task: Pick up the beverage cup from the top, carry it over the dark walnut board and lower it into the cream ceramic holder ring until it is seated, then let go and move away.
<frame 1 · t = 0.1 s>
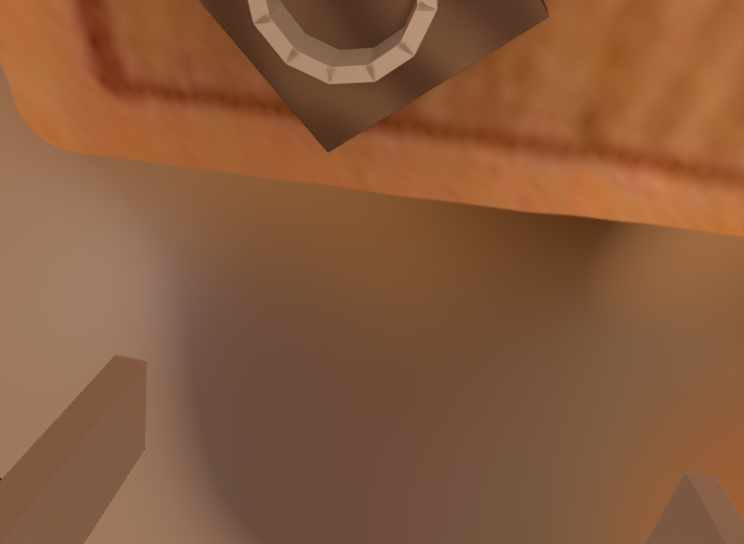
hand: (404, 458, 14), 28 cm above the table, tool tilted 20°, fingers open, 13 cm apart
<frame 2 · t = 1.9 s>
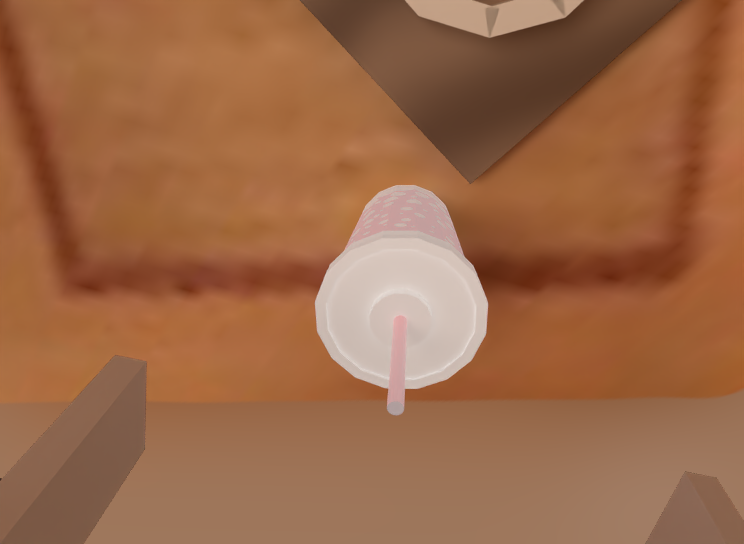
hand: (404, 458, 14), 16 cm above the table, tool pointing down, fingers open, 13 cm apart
beverage cup: (405, 228, 28), on the table
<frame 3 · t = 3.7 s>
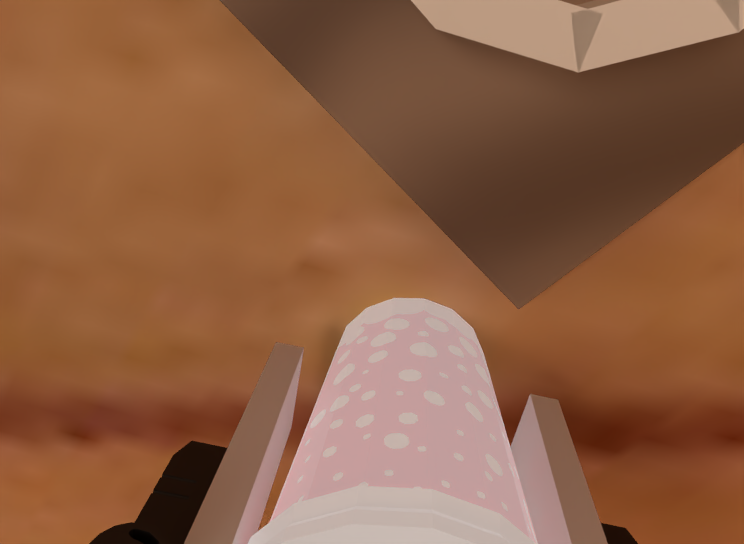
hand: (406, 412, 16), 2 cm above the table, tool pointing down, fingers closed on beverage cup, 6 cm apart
beverage cup: (409, 359, 18), on the table, touching gripper
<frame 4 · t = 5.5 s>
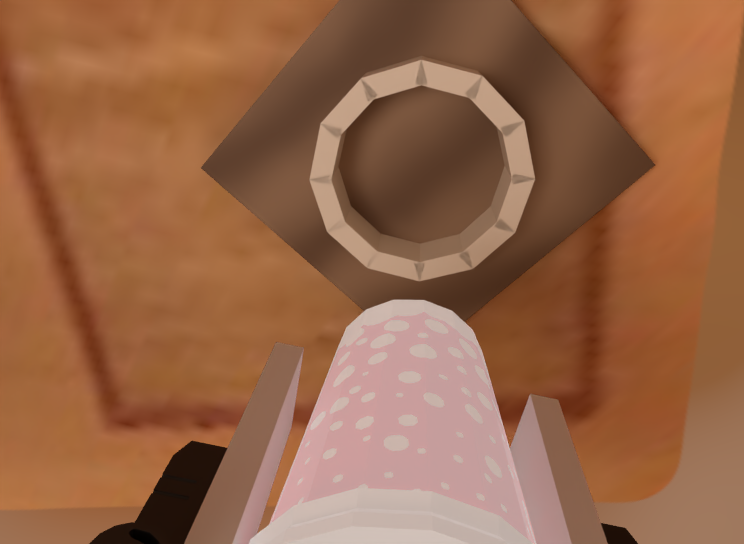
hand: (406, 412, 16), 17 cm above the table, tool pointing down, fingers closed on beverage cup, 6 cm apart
beverage cup: (409, 360, 18), point 14 cm above the table, touching gripper
ring: (420, 172, 27), on the holder, point 2 cm above the table
holder: (420, 159, 30), on the table
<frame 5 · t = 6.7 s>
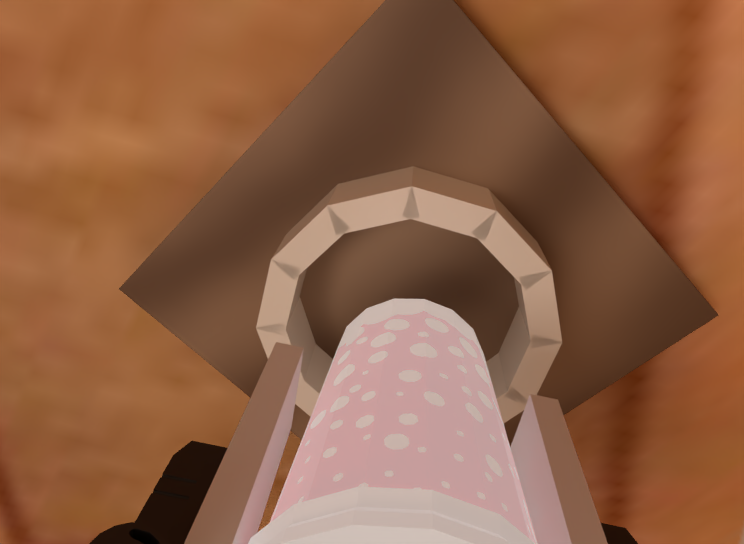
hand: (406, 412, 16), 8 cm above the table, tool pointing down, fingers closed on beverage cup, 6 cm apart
beverage cup: (409, 359, 18), point 5 cm above the table, touching gripper
ring: (407, 317, 20), on the holder, point 3 cm above the table
holder: (408, 284, 23), on the table
when the fingers open (5 cm above the table, at t = 7.7 s): beverage cup stays where it is, resting on holder.
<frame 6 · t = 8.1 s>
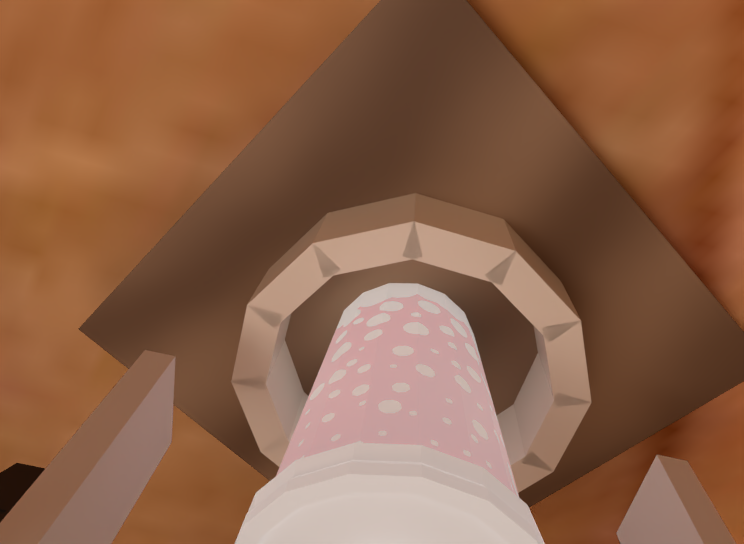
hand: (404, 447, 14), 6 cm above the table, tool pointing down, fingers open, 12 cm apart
beverage cup: (403, 342, 19), point 1 cm above the table, touching holder
ring: (408, 367, 18), on the holder, point 3 cm above the table
holder: (410, 323, 20), on the table
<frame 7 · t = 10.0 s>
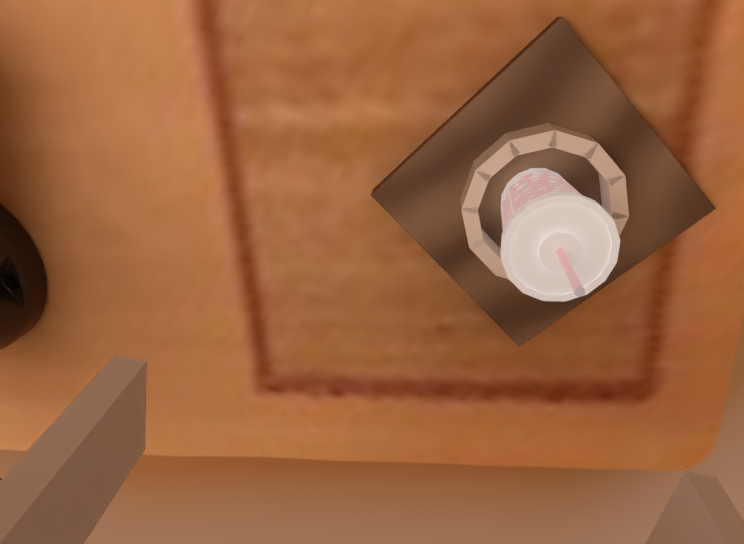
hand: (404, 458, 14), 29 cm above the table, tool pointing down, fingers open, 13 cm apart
beverage cup: (534, 200, 39), point 1 cm above the table, touching holder
ring: (540, 207, 37), on the holder, point 2 cm above the table
holder: (534, 195, 40), on the table
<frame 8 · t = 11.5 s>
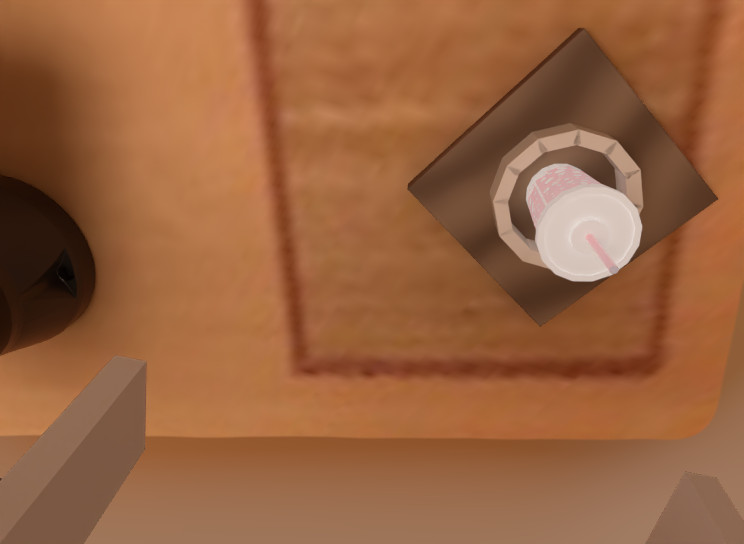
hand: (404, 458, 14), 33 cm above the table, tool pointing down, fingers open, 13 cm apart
beverage cup: (556, 193, 43), point 1 cm above the table, touching holder
ring: (563, 198, 41), on the holder, point 3 cm above the table
holder: (555, 188, 44), on the table
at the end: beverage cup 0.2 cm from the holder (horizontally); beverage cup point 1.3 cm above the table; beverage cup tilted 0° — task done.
